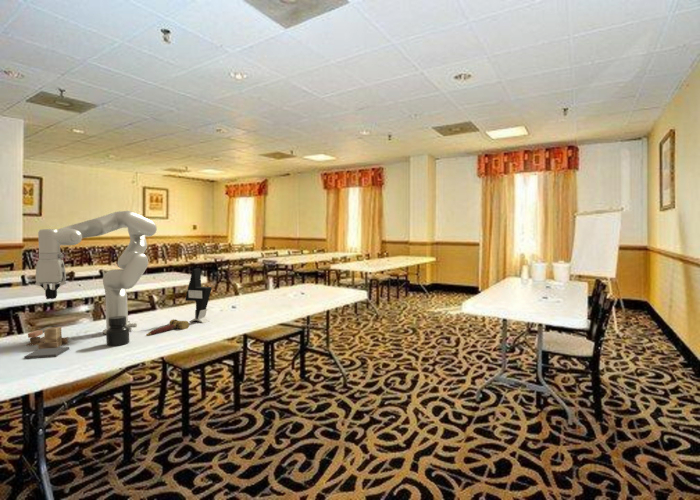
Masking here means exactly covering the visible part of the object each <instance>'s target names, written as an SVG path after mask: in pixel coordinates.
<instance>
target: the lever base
mask: <svg viewBox="0 0 700 500" xmlns="http://www.w3.org/2000/svg"><path fill="white" fill-rule="evenodd" d="M39 343H45V336H42V337H41V336H37V337H31V338H29V342H28V343H26V344H25V345H26V347H27V346H38V344H39Z"/></svg>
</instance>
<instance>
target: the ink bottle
mask: <svg viewBox="0 0 700 500" xmlns="http://www.w3.org/2000/svg"><path fill="white" fill-rule="evenodd" d="M108 320H109V329H107V331H106V334H105V335H106V341H105V343H106V346H109V347H117V346H123V345H126V344H128V343H130V331H129V328H128V327H127V326H125V325H126V316H114V317H110V318H108Z"/></svg>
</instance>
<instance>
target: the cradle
mask: <svg viewBox="0 0 700 500" xmlns="http://www.w3.org/2000/svg"><path fill="white" fill-rule="evenodd" d="M68 338H69V337H62V345H63V344H64V345H65V344H68V343H69V342H68V341H69V340H68ZM37 346H38V347H37V348H38V349H44V348H60V346H59V343H58V342H48V343H45V342H44V343H39V344H38V345H37ZM38 349H37V350H38Z"/></svg>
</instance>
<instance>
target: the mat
mask: <svg viewBox="0 0 700 500" xmlns="http://www.w3.org/2000/svg"><path fill="white" fill-rule="evenodd" d="M69 350H70V346H64V347H63V346H62V347H60V346H59V348H44V349H36V350H35V351H33V352H30V353H29V354H26V355H24V356H23V357H24V358H23V359H24V360H26V359H27V360H29V359H43V358H55V357H58V356H60V355H62V354H63V353H66V352H68V351H69Z"/></svg>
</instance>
